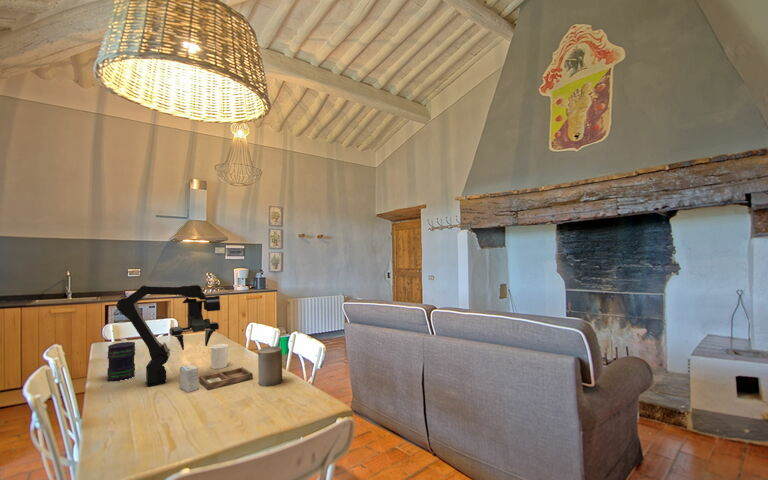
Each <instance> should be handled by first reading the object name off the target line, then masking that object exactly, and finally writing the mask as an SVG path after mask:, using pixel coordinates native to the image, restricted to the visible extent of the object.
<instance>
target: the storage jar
mask: <svg viewBox="0 0 768 480" xmlns="http://www.w3.org/2000/svg"><path fill="white" fill-rule="evenodd" d="M135 345H136V342H134V341H125V342H123V341H121V342H117V343H113V344H110V345H107V347H108V350H107V360H108V367H107V382H110V381H117V382H121V381H120V380H123V381H126V380H125V379H127V380H130V379H132V377H133V378H135V371H136V364H135V355H136V346H135ZM129 378H130V379H129Z"/></svg>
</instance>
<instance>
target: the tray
mask: <svg viewBox="0 0 768 480" xmlns="http://www.w3.org/2000/svg"><path fill="white" fill-rule="evenodd" d="M198 379H199V384H200V385H201V386H203V387H204V389H206V390H207V391H210V390H215V389H217V388H223V387H227V386H231V385H234V384H240V383H241V382H242V383H243V382H247V381H251V380H253V379H254V377H253V373H252V372H251V371H249V370H248V369H246V368H245V367H239V368H238V367H237V368H234V369H230V370H229V369H228V370H225V371H219V372H215V373H211V374H205V375H202V376H198Z"/></svg>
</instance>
